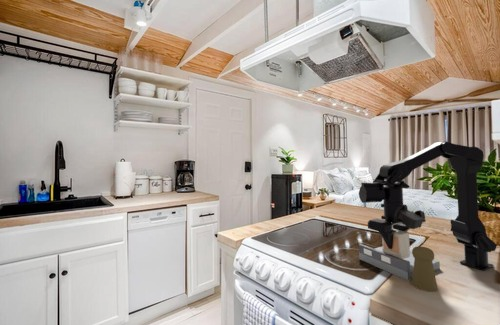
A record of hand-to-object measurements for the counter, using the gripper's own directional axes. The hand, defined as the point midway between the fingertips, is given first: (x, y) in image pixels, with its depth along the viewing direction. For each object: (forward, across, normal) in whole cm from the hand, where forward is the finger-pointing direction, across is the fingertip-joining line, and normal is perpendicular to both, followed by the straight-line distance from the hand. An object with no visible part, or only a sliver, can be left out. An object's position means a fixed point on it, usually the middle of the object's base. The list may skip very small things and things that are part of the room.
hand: (395, 247), depth 80 cm
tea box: (+2, 0, 0) cm, 3 cm away
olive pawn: (+7, -4, -11) cm, 14 cm away
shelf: (+7, +3, +2) cm, 8 cm away
